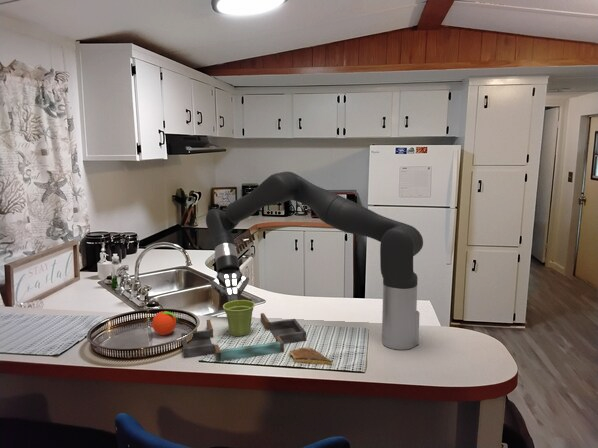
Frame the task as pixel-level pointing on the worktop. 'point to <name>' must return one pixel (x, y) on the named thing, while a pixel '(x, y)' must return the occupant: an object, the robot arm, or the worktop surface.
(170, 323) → the clementine
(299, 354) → the shard
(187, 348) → the two-trap channel
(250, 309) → the plant pot
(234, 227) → the robot arm
